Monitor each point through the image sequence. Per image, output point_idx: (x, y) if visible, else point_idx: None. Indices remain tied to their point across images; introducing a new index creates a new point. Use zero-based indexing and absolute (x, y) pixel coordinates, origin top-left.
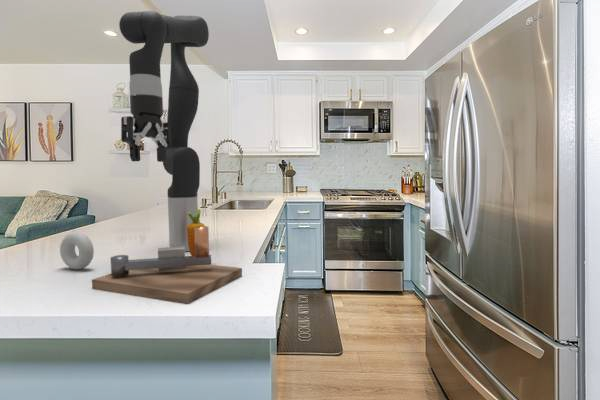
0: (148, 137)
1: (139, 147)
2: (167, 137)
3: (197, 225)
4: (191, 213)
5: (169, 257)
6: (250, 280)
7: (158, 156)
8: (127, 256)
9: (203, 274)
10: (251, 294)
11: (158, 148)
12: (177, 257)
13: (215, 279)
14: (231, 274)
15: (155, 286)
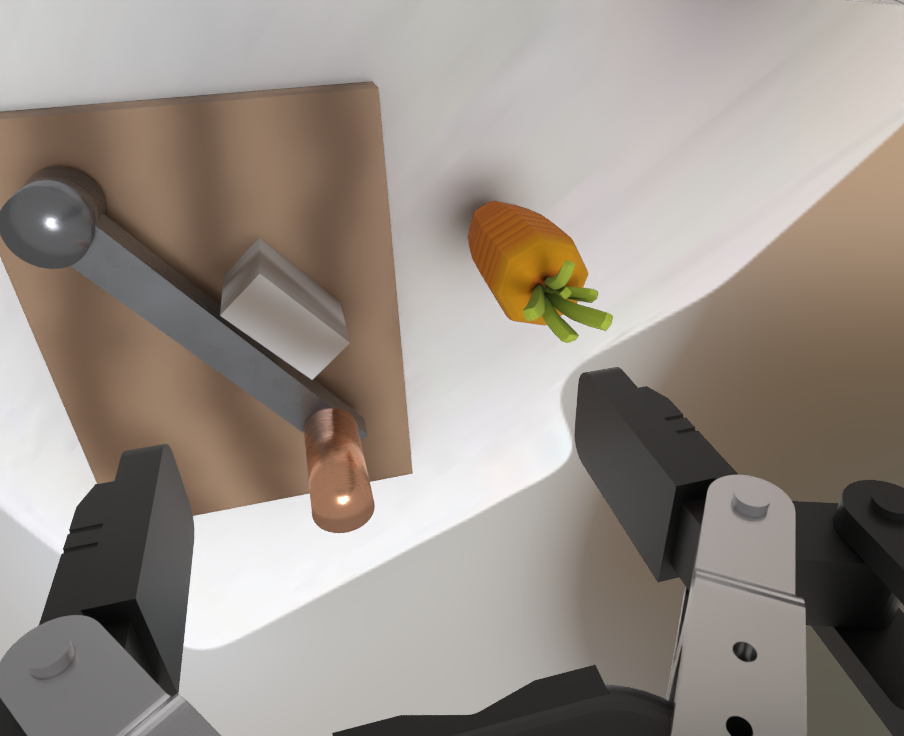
0: (558, 677)
1: (175, 671)
2: (871, 693)
3: (518, 318)
4: (542, 314)
5: (246, 345)
6: (381, 498)
7: (607, 423)
8: (78, 258)
9: (287, 435)
10: (280, 567)
11: (663, 503)
12: (264, 371)
13: (266, 496)
14: None
15: (92, 416)
